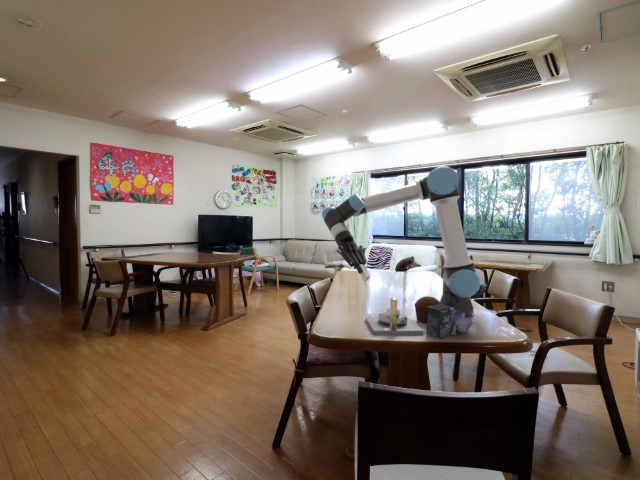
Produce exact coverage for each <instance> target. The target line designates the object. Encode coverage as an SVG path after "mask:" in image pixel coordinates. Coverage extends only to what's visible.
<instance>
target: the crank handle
mask: <svg viewBox="0 0 640 480" xmlns="http://www.w3.org/2000/svg"><path fill="white" fill-rule="evenodd" d="M389 301H390V303H389V306H390V307H388V308H386V309H385V310H386V312H381V313H379V314H378V316H377V317H378V321H379V322H380V323H383V324H386V325H390V329H391V330H396V329H397V326H398V325H405V324H407V317H408V316H407V315H405V314H403V313H400V309H399V308H398V298H396V297H391V298H390V299H389Z"/></svg>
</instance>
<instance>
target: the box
mask: <svg viewBox="0 0 640 480" xmlns="http://www.w3.org/2000/svg"><path fill="white" fill-rule="evenodd" d="M453 313H454V307H450V306H447V305H443V304H439V305H434V306H428V311H427V324H426V335H427V336H429V337H432V338H434V339H437V338H438V339H437V340H440V339H444V338H447V337H448V338H449V337H451V336H454V334H453Z"/></svg>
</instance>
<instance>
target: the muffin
mask: <svg viewBox="0 0 640 480" xmlns="http://www.w3.org/2000/svg"><path fill="white" fill-rule="evenodd" d="M439 304H441V303H440V300H439V299H437V298H435V297H433V296H429V295H427V296H422V297H421V298H419V299H417V301H416V302H415V303H414V308H415V317H416V320H417V322H418V323H420V324H424V325H427V311H428V306H434V305H439Z"/></svg>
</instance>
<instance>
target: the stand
mask: <svg viewBox="0 0 640 480" xmlns="http://www.w3.org/2000/svg"><path fill="white" fill-rule="evenodd" d="M365 322H366V324H367V326H368V327H369V329H370V331H371V332H372V334H373V335H374V336H410V335H411V336H423V335H424V330H423V329H422V328H421V327H420V326H419V325H418V324H417V323H416V322H415V321H414V320H412V318H410V317H409V316H407V324H405V325H398V326H397V329H396V330H391V329H390V325H386V324H383V323H380V322H379V321H378V316H376V317H375V316H374V317H373V316H372V317H371V316H367V317H365Z"/></svg>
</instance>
